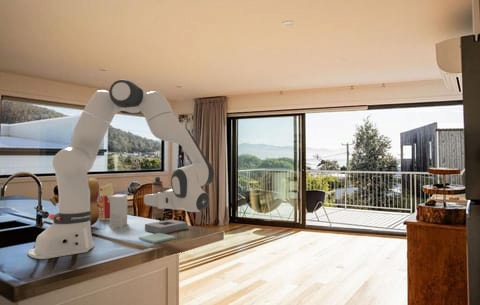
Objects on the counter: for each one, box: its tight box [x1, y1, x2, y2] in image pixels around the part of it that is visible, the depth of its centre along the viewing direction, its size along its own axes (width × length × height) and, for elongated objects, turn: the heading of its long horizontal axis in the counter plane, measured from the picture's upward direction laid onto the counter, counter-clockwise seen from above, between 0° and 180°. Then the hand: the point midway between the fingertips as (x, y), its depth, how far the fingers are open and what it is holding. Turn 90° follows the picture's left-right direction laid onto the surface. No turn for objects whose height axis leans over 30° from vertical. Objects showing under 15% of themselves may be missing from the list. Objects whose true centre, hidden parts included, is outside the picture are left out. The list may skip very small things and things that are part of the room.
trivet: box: [138, 233, 176, 244], centre depth 149 cm, size 11×11×1 cm
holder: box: [144, 219, 188, 234], centre depth 168 cm, size 16×12×3 cm
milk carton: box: [98, 182, 115, 221], centre depth 197 cm, size 9×9×20 cm
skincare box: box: [109, 193, 128, 228], centre depth 177 cm, size 8×7×16 cm
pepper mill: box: [151, 176, 164, 219], centre depth 149 cm, size 5×5×18 cm
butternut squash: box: [87, 177, 100, 226], centre depth 172 cm, size 14×13×25 cm
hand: (156, 196), depth 150 cm, fingers closed on pepper mill, 5 cm apart
